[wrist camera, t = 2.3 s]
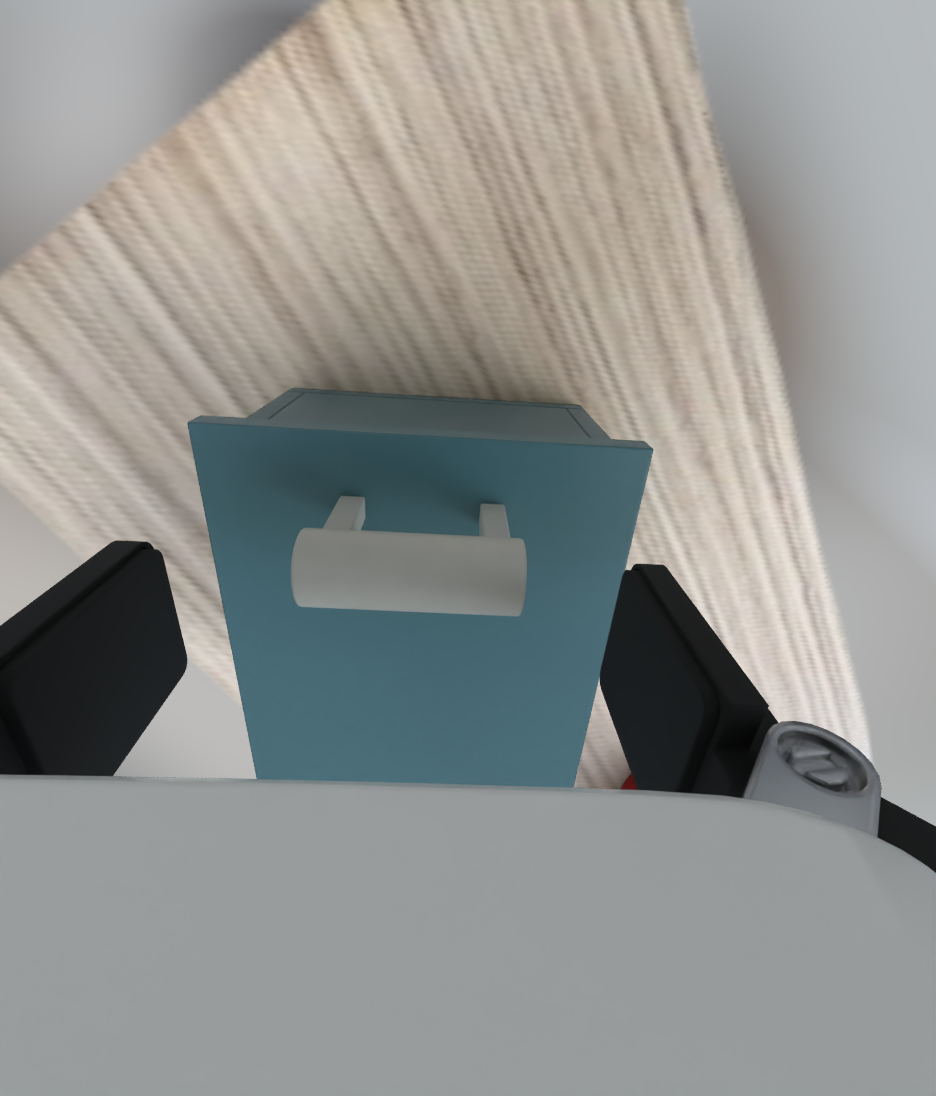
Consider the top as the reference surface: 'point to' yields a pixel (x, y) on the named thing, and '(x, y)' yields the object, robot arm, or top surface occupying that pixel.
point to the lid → (416, 594)
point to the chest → (431, 413)
